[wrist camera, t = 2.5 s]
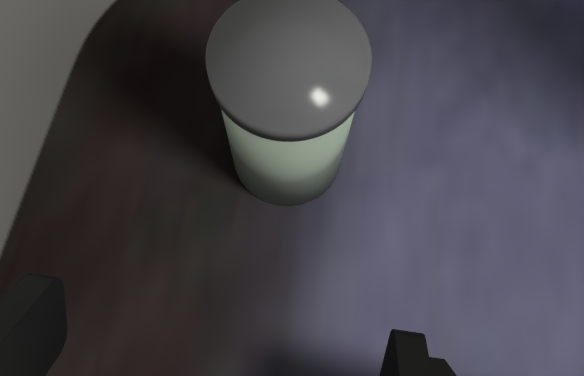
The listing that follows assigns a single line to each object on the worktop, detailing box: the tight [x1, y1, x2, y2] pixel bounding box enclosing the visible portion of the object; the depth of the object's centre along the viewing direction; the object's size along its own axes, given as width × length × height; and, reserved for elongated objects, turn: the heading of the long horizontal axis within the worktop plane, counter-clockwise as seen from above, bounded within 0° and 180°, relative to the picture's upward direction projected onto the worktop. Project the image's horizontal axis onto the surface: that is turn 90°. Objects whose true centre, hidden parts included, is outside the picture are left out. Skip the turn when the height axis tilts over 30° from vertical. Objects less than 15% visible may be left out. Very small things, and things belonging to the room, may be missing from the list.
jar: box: [205, 0, 372, 206], centre depth 26 cm, size 6×6×10 cm
